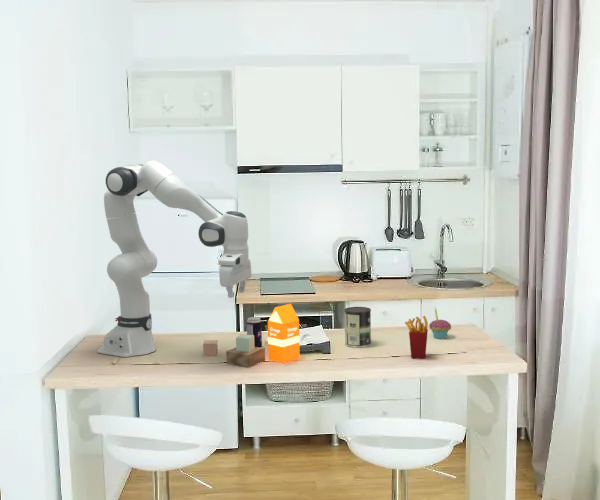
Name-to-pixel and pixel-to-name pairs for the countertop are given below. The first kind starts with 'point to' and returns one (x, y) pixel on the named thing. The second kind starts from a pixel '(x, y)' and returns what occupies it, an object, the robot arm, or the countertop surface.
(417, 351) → the french fries
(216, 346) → the terracotta cube
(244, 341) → the sage cube
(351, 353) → the countertop surface
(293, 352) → the orange juice
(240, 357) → the walnut block
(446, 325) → the cupcake
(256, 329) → the beverage can
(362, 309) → the coffee can
